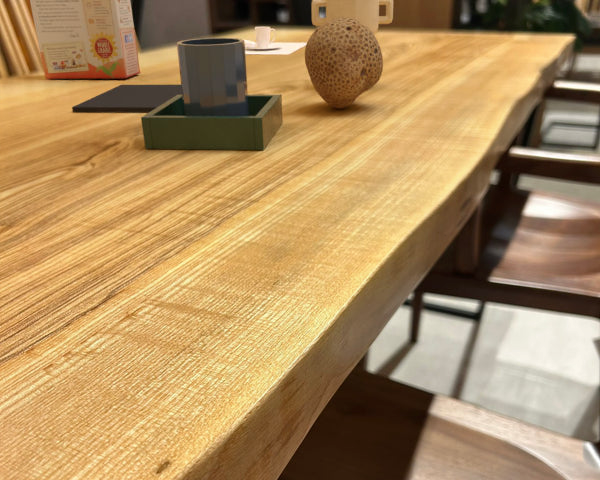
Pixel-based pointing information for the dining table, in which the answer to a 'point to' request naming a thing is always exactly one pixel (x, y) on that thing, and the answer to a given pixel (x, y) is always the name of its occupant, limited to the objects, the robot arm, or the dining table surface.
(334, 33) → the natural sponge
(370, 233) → the dining table surface
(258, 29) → the teacup and saucer
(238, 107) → the cup
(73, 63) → the cracker box
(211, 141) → the square tray
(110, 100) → the rubber mat
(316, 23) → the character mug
